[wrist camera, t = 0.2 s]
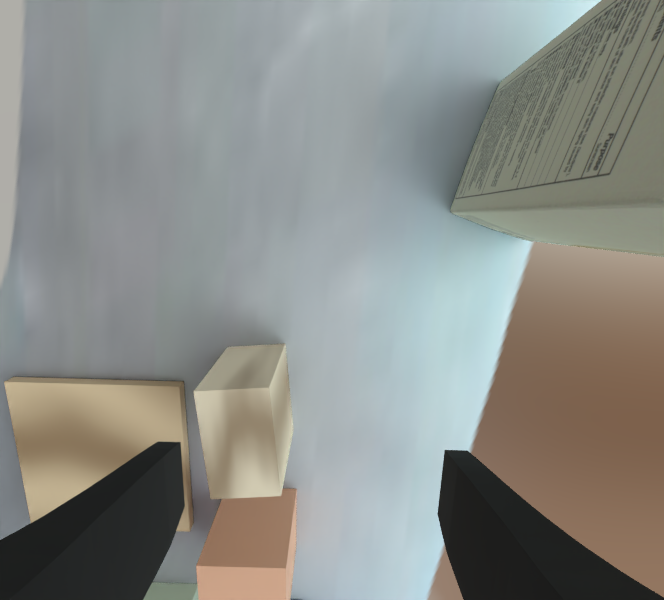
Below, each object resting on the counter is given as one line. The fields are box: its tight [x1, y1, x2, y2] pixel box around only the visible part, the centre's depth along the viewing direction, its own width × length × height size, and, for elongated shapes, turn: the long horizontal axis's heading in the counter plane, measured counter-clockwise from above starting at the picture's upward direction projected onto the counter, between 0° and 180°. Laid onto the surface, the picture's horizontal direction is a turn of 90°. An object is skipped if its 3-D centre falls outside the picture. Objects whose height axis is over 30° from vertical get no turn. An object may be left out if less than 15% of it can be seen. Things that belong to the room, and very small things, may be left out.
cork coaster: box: [4, 377, 194, 532], centre depth 21 cm, size 9×9×1 cm
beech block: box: [193, 344, 293, 499], centre depth 18 cm, size 5×5×3 cm
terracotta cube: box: [196, 488, 297, 600], centre depth 20 cm, size 4×4×5 cm
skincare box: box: [450, 0, 664, 257], centre depth 12 cm, size 6×4×12 cm
